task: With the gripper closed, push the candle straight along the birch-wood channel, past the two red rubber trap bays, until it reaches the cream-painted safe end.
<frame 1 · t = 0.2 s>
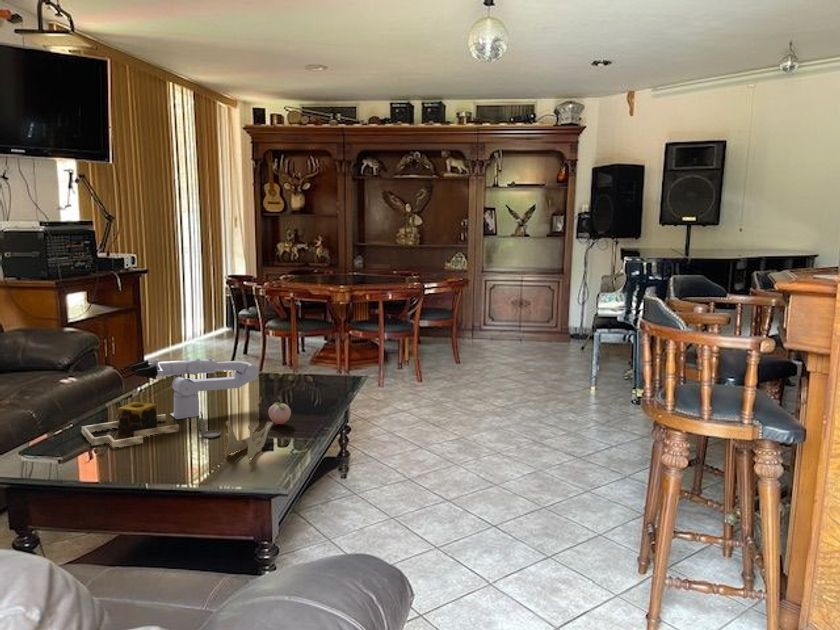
hand: (132, 371, 236), 21 cm above the table, tool horizontal, fingers open, 7 cm apart
candle: (138, 431, 231), resting in trap channel
decorative fruit: (279, 425, 247), on the table
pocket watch: (207, 436, 229), on the table
trap channel: (132, 431, 229), on the table
jawbone: (254, 449, 220), on the table
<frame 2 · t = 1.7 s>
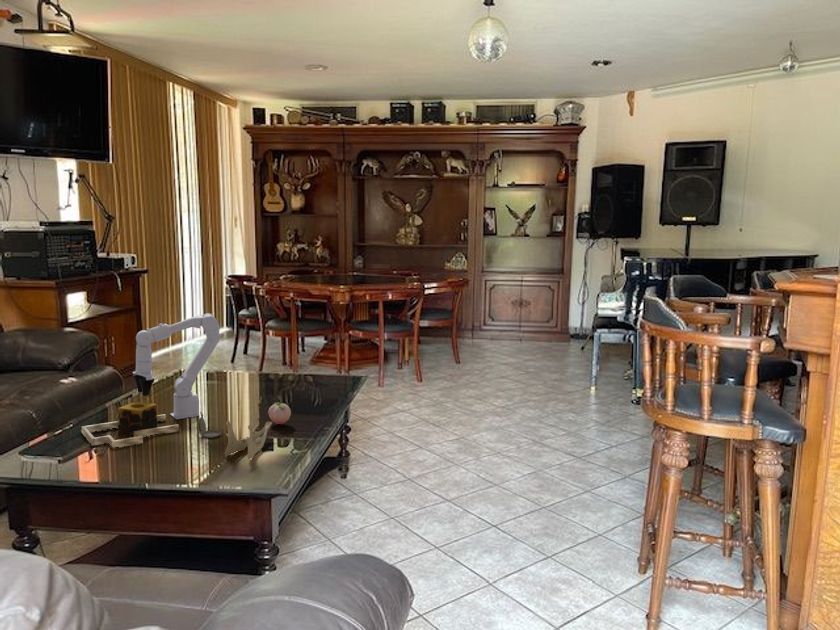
hand: (143, 393, 244), 10 cm above the table, tool pointing down, fingers open, 6 cm apart
nothing on the table moved.
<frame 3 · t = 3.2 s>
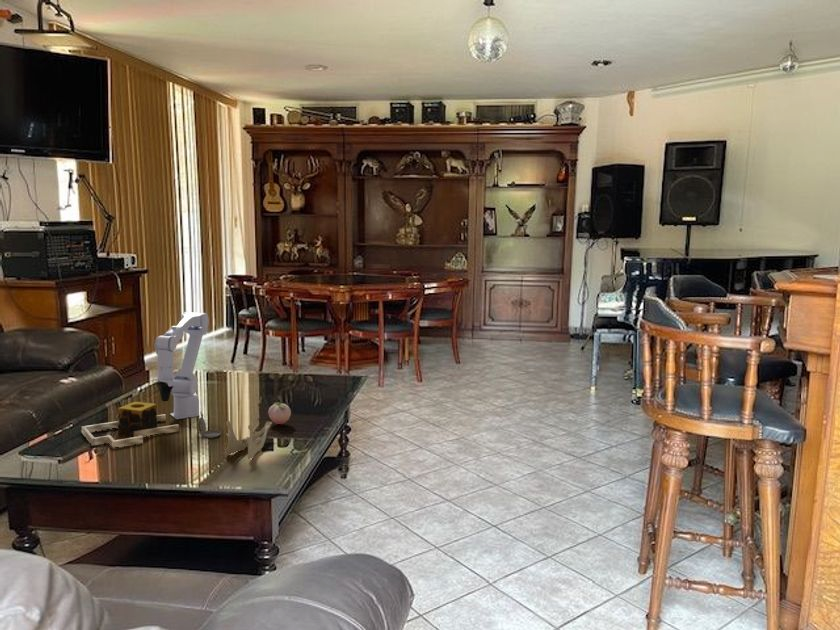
hand: (165, 400, 236), 10 cm above the table, tool pointing down, fingers closed
nothing on the table moved.
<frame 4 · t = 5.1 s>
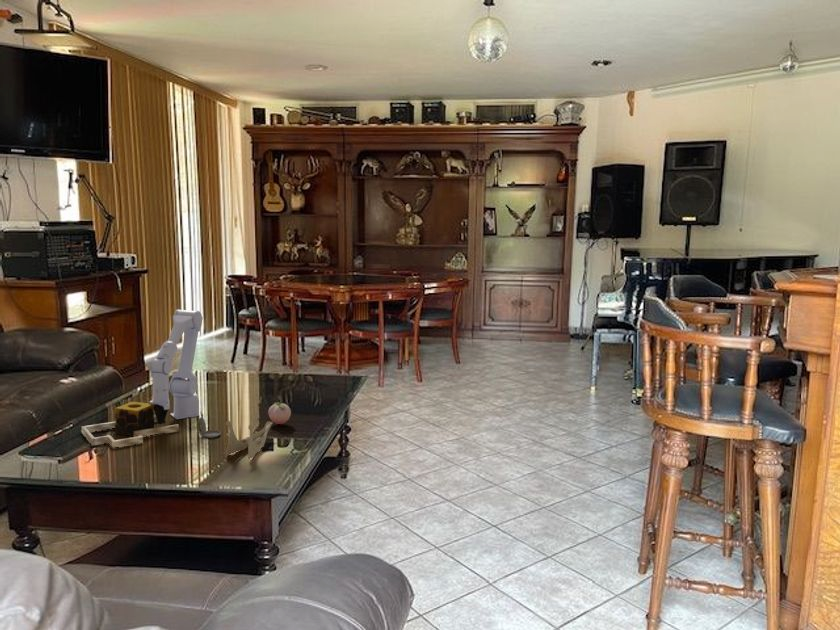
hand: (160, 423, 236), 2 cm above the table, tool pointing down, fingers closed
candle: (135, 431, 230), resting in trap channel, touching gripper
everything else where it was.
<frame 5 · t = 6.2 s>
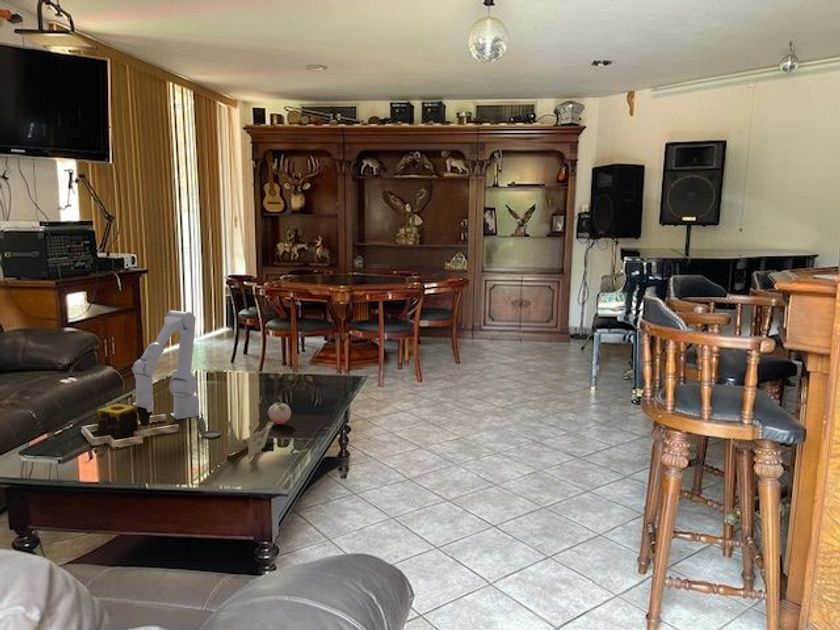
hand: (144, 425, 232), 2 cm above the table, tool pointing down, fingers closed
candle: (117, 434, 226), resting in trap channel, touching gripper
everything else where it was.
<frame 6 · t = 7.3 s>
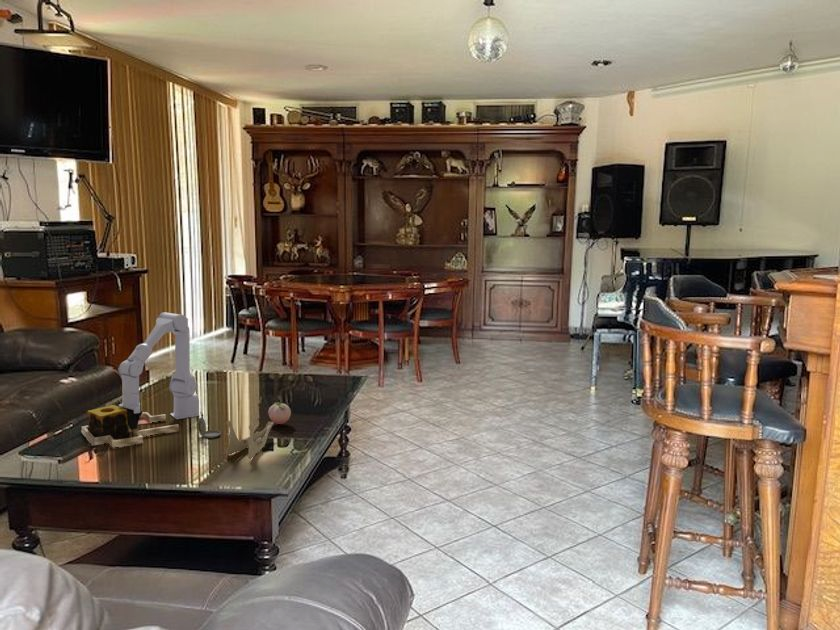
hand: (131, 427, 229), 2 cm above the table, tool pointing down, fingers open, 4 cm apart
candle: (108, 436, 223), resting in trap channel, touching gripper
everything else where it was.
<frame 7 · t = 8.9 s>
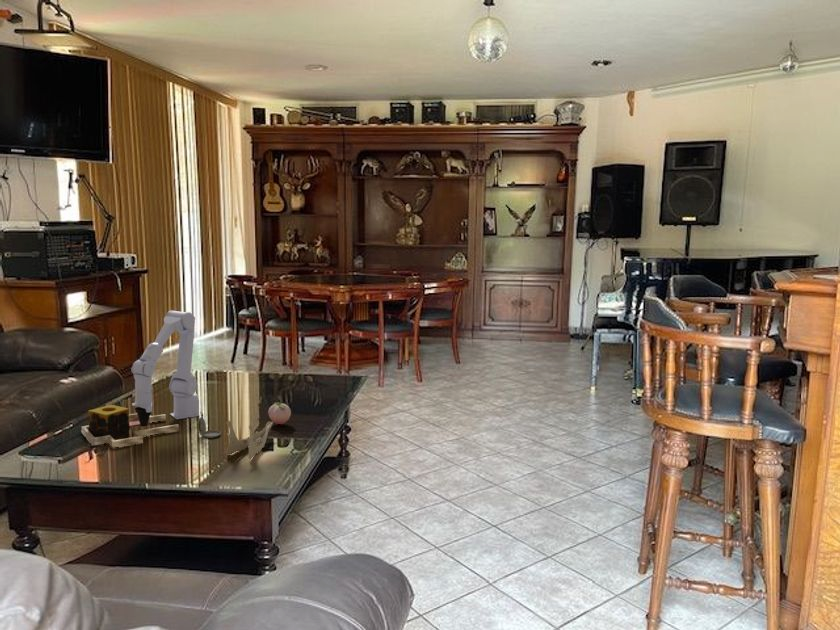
hand: (143, 425, 232), 2 cm above the table, tool pointing down, fingers closed
candle: (109, 436, 225), resting in trap channel
everything else where it was.
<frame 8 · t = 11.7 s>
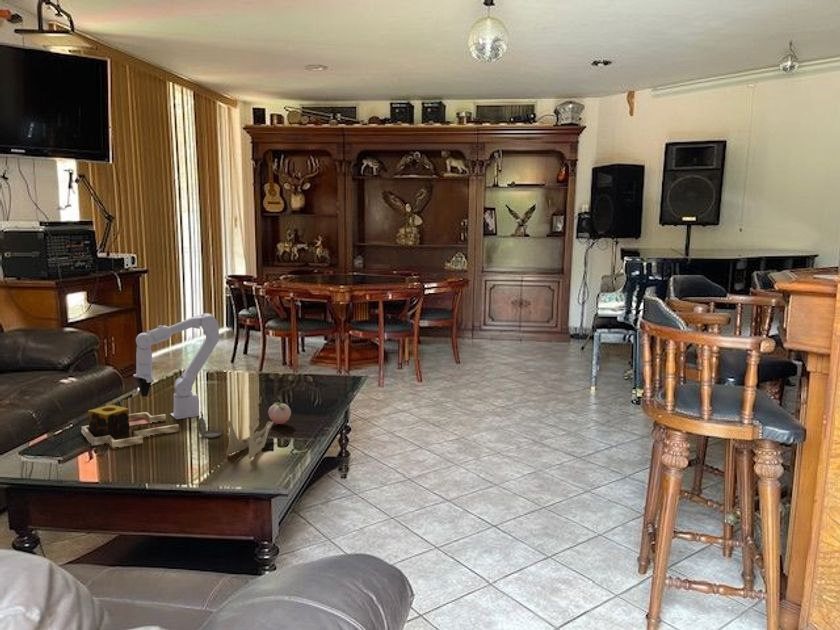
hand: (144, 396, 244), 9 cm above the table, tool pointing down, fingers closed
nothing on the table moved.
at the end: candle inside the target area (0.4 cm from its centre), resting in trap channel; candle tilted 0° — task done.
